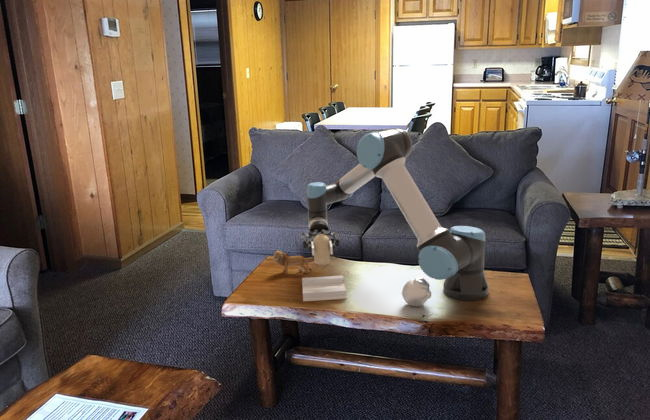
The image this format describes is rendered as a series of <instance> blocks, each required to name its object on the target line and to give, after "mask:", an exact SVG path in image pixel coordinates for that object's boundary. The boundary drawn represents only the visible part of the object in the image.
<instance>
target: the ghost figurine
mask: <svg viewBox="0 0 650 420" xmlns="http://www.w3.org/2000/svg"><path fill="white" fill-rule="evenodd" d="M401 296H402V298H403V300H404V302H405V303H406V304H407V305H409V306H411V307H421V306H423V305H424V304H426V302H427V301H428V300H430V299H431V298H432V292H431V290H430V283H429V282H428V281H427V280H426V279H425V278H424V277H422V276H417V277H416V278H413V279H410V280H408V281H406V282H405V283H404V285H403V287H402V291H401Z"/></svg>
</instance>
